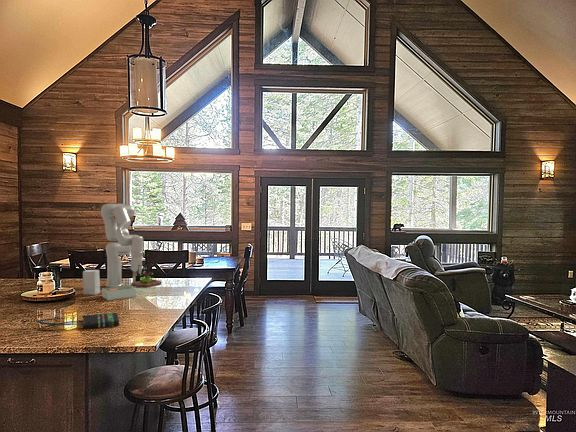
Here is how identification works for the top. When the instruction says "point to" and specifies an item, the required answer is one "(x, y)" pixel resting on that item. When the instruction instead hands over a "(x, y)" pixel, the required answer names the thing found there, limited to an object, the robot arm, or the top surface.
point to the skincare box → (91, 282)
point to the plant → (146, 281)
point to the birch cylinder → (134, 277)
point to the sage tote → (119, 293)
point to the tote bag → (89, 321)
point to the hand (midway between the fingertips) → (136, 280)
